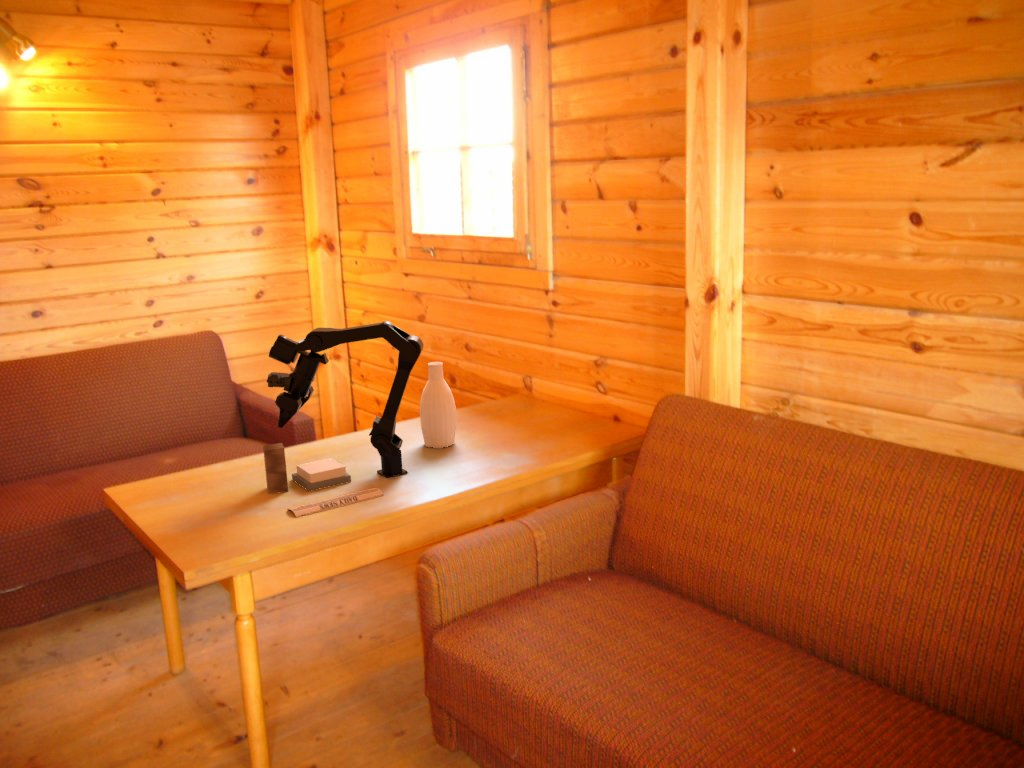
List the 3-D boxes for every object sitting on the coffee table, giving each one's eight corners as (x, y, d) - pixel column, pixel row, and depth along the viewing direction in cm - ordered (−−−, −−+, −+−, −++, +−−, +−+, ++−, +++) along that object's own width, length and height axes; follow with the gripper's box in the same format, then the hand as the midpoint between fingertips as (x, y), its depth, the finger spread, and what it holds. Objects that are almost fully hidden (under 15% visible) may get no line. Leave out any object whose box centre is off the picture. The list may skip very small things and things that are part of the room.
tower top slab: (346, 475, 240) (345, 466, 240) (311, 483, 235) (310, 474, 235) (331, 466, 249) (330, 457, 248) (297, 473, 243) (296, 465, 243)
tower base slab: (351, 484, 241) (350, 475, 240) (309, 494, 234) (308, 485, 234) (333, 473, 251) (332, 464, 250) (292, 482, 244) (291, 473, 243)
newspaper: (373, 492, 234) (372, 485, 234) (385, 499, 228) (384, 492, 228) (287, 513, 221) (286, 506, 221) (298, 521, 215) (297, 514, 215)
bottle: (464, 445, 270) (460, 363, 265) (432, 452, 264) (428, 368, 259) (446, 437, 279) (442, 357, 274) (414, 443, 273) (410, 363, 268)
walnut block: (286, 485, 240) (282, 442, 237) (288, 491, 235) (284, 447, 232) (267, 488, 238) (262, 445, 235) (268, 494, 233) (264, 450, 231)
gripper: (285, 353, 248) (265, 402, 252) (267, 367, 230) (246, 420, 233) (322, 369, 249) (302, 418, 253) (307, 384, 231) (286, 436, 235)
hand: (284, 422), depth 243 cm, fingers open, 9 cm apart
